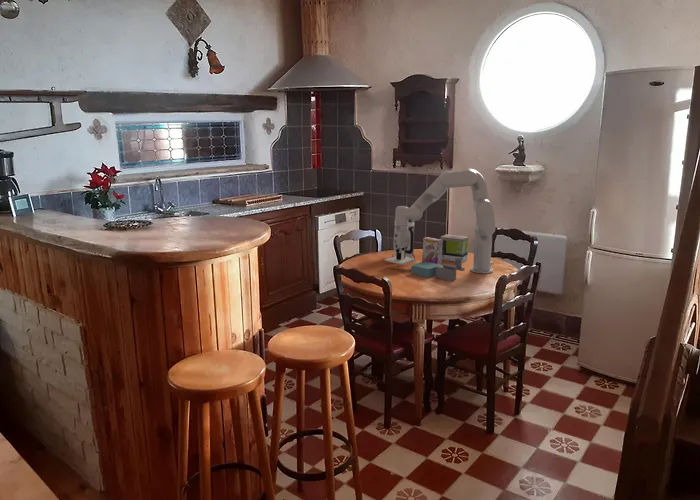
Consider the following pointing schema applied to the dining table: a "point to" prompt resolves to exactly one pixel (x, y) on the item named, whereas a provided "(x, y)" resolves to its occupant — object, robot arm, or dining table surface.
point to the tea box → (454, 247)
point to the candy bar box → (432, 250)
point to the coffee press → (411, 247)
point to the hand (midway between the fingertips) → (400, 258)
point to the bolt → (458, 265)
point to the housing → (433, 271)
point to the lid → (402, 261)
